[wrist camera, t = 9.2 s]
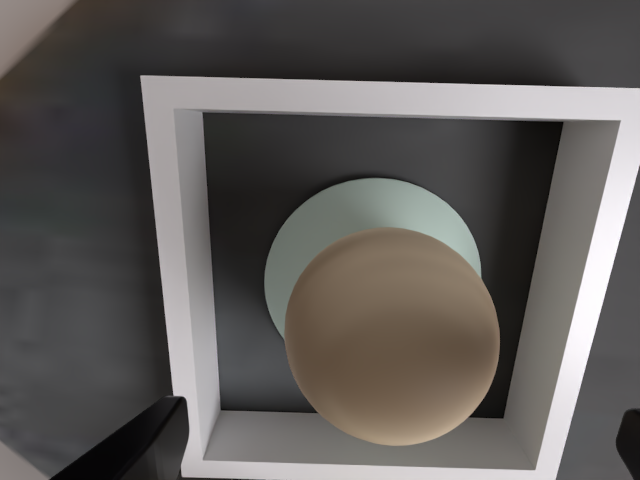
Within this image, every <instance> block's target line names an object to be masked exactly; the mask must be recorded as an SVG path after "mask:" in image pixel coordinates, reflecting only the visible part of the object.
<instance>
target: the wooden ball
mask: <svg viewBox="0 0 640 480" xmlns="http://www.w3.org/2000/svg"><path fill="white" fill-rule="evenodd" d="M284 337H285V348H286V353H287V357H288V362H289V366H290V368H291V371H292V373H293V376H294V378H295V380H296V382H297V384H298V386H299V388H300V390H301V392H302V393H303V395H304V396H305V397H306V399H307V400H308V401H309V403H310V404H311V405H312V406H313V408H314V409H315V410H316V411H317V412H318V413H319V414H320V415H321V416H322V417H323V418H325V419H326V420H327V421H329V422H330V423H331V424H333V425H334V426H335V427H337V428H338V429H340V430H342V431H343V432H345V433H347V434H349V435H351V436H353V437H356V438H358V439H361V440H365V441H368V442H371V443H375V444H381V445H390V446H404V445H412V444H418V443H422V442H426V441H429V440H432V439H435V438H438V437H440V436H442V435H444V434H446V433H448V432H449V431H451V430H453V429H454V428H456V427H457V426H458V425H460V424H461V423H462V422H464V421H465V420H466V419H467V418H468V417H469V416H470V415H471V414H472V413H473V411H474V410H475V409H476V408H477V407H478V405H479V404H480V403H481V401H482V400H483V399H484V397H485V395H486V393H487V392H488V390H489V388H490V385H491V383H492V380H493V378H494V375H495V372H496V368H497V364H498V359H499V350H500V330H499V325H498V320H497V315H496V310H495V307H494V304H493V301H492V299H491V296H490V294H489V292H488V290H487V288H486V286H485V285H484V283H483V281H482V279H481V278H480V276H479V275H478V274H477V273H476V271H475V270H474V269H473V267H472V266H471V265H470V264H469V263H468V262H467V261H466V260H465V259H464V258H463V257H462V256H461V255H460V254H459V253H457V252H456V251H455V250H453V249H452V248H450V247H449V246H448V245H446V244H445V243H443V242H441V241H439V240H437V239H435V238H434V237H431V236H429V235H426V234H423V233H421V232H417V231H413V230H408V229H404V228H394V227H380V228H372V229H366V230H361V231H358V232H355V233H351V234H349V235H347V236H345V237H342V238H340V239H338V240H337V241H335V242H333V243H332V244H330V245H328V246H327V247H326V248H325V249H323V250H322V251H321V252H319V253H318V254H317V255H316V256H315V257H314V258H313V260H312V261H311V262H310V263H309V264H308V265H307V267H306V268H305V269H304V271H303V272H302V273H301V275H300V276H299V278H298V280H297V282H296V284H295V286H294V288H293V291H292V293H291V296H290V299H289V302H288V306H287V310H286V315H285V329H284Z"/></svg>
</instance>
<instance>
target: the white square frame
mask: <svg viewBox="0 0 640 480" xmlns="http://www.w3.org/2000/svg"><path fill="white" fill-rule="evenodd" d="M140 78H141V87H142V97H143V107H144V116H145V126H146V135H147V145H148V155H149V164H150V174H151V184H152V193H153V203H154V212H155V222H156V232H157V241H158V251H159V261H160V270H161V280H162V289H163V299H164V309H165V318H166V328H167V338H168V347H169V357H170V366H171V376H172V386H173V395H174V396H183V397H185V398H186V401H187V407H188V418H189V439H188V443H187V446H186V450H185V453H184V457H183V460H182V463H181V472H182V477H197V478H230V479H264V480H555V479H556V476H557V472H558V468H559V464H560V461H561V457H562V453H563V449H564V446H565V442H566V438H567V434H568V431H569V427H570V423H571V419H572V416H573V412H574V408H575V404H576V401H577V397H578V393H579V389H580V386H581V382H582V378H583V374H584V371H585V367H586V363H587V359H588V356H589V352H590V348H591V344H592V341H593V337H594V333H595V329H596V326H597V322H598V318H599V314H600V311H601V307H602V303H603V299H604V296H605V292H606V288H607V284H608V281H609V277H610V273H611V270H612V266H613V262H614V258H615V255H616V251H617V247H618V243H619V240H620V236H621V232H622V228H623V225H624V221H625V217H626V213H627V210H628V206H629V202H630V198H631V195H632V191H633V187H634V183H635V180H636V176H637V172H638V168H639V165H640V88H602V87H564V86H526V85H488V84H450V83H412V82H374V81H336V80H297V79H259V78H221V77H183V76H145V75H140ZM202 112H213V113H251V114H288V115H326V116H364V117H401V118H439V119H477V120H514V121H552V122H564V123H563V128H562V133H561V138H560V143H559V148H558V153H557V158H556V163H555V168H554V172H553V177H552V182H551V187H550V192H549V197H548V202H547V207H546V212H545V217H544V222H543V227H542V232H541V236H540V241H539V246H538V251H537V256H536V261H535V266H534V271H533V276H532V281H531V286H530V291H529V296H528V300H527V305H526V310H525V315H524V320H523V325H522V330H521V335H520V340H519V345H518V350H517V355H516V360H515V364H514V369H513V374H512V379H511V384H510V389H509V394H508V399H507V404H506V409H505V414H504V419H499V418H467V419H466V420H465V421H464V422H462V423H461V424H460V425H458V426H457V427H456V428H454V429H453V430H451V431H449V432H448V433H446V434H444V435H442V436H440V437H438V438H435V439H432V440H429V441H426V442H422V443H418V444H412V445H404V446H390V445H381V444H375V443H371V442H368V441H365V440H361V439H358V438H356V437H353V436H351V435H349V434H347V433H345V432H343V431H342V430H340V429H338V428H337V427H335V426H334V425H333V424H331V423H330V422H329V421H327V420H326V419H325V418H323V417H322V416H321V415H320V414H319V413H293V412H259V411H225V410H221V407H220V390H219V374H218V358H217V341H216V325H215V309H214V293H213V276H212V260H211V244H210V227H209V211H208V195H207V179H206V162H205V146H204V130H203V113H202ZM380 227H394V228H404V229H408V230H413V231H417V232H421V233H423V234H426V235H429V236H431V237H434V238H435V239H437V240H439V241H441V242H443V243H445V244H446V245H448V246H449V247H450V248H452V249H453V250H455V251H456V252H457V253H459V254H460V255H461V256H462V257H463V258H464V259H465V260H466V261H467V262H468V263H469V264H470V265H471V266H472V267H473V269H474V270H475V271H476V273H477V274H478V275H479V276H480V278H481V263H480V258H479V253H478V249H477V247H476V244H475V241H474V238H473V236H472V234H471V233H470V231H469V229H468V227H467V225H466V224H465V223H464V221H463V220H462V219H461V217H460V216H459V215H458V214H457V213H456V212H455V211H454V210H453V209H452V208H451V207H450V206H449V205H448V204H447V203H446V202H444V201H443V200H442V199H440V198H439V197H438V196H436V195H435V194H433V193H431V192H429V191H427V190H425V189H424V188H422V187H419V186H416V185H414V184H411V183H409V182H405V181H400V180H396V179H389V178H361V179H356V180H350V181H346V182H343V183H339V184H336V185H333V186H331V187H329V188H327V189H325V190H322V191H320V192H319V193H317V194H316V195H314V196H312V197H311V198H309V199H308V200H307V201H305V202H304V203H303V204H302V205H300V206H299V207H298V208H297V209H296V210H295V211H294V212H293V213H292V214H291V215H290V217H289V218H288V219H287V220H286V221H285V223H284V224H283V226H282V227H281V229H280V230H279V232H278V234H277V236H276V238H275V240H274V242H273V244H272V246H271V249H270V252H269V255H268V258H267V263H266V268H265V279H264V287H265V297H266V302H267V306H268V310H269V313H270V315H271V318H272V320H273V322H274V324H275V326H276V328H277V330H278V331H279V333H280V334H281V336H282V337H283V338H284V340H285V337H284V329H285V315H286V310H287V306H288V302H289V299H290V296H291V293H292V291H293V288H294V286H295V284H296V282H297V280H298V278H299V276H300V275H301V273H302V272H303V271H304V269H305V268H306V267H307V265H308V264H309V263H310V262H311V261H312V260H313V258H314V257H315V256H316V255H317V254H318V253H319V252H321V251H322V250H323V249H325V248H326V247H327V246H328V245H330V244H332V243H333V242H335V241H337V240H338V239H340V238H342V237H345V236H347V235H349V234H351V233H355V232H358V231H361V230H366V229H372V228H380Z"/></svg>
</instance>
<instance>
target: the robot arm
mask: <svg viewBox="0 0 640 480" xmlns="http://www.w3.org/2000/svg"><path fill="white" fill-rule="evenodd" d="M188 439H189V418H188V407H187V401H186V398H185V397H183V396H165V397H163V398H161V399H160V400H158V401H157V402H156V403H154V404H153V405H151V406H150V407H149V408H147V409H146V410H145V411H143V412H142V413H140V414H139V415H138V416H136V417H135V418H133V419H132V420H131V421H129V422H128V423H127V424H125V425H124V426H122V427H121V428H120V429H118V430H117V431H116V432H114V433H113V434H111V435H110V436H109V437H107V438H106V439H104V440H103V441H102V442H100V443H99V444H98V445H96V446H95V447H93V448H92V449H91V450H89V451H88V452H86V453H85V454H84V455H82V456H81V457H80V458H78V459H77V460H75V461H74V462H73V463H71V464H70V465H69V466H67V467H66V468H64V469H63V470H62V471H60V472H59V473H57V474H56V475H55V476H53V477H52V478H51V479H49V480H177V477H178V474H179V470H180V467H181V463H182V460H183V457H184V453H185V450H186V446H187V443H188ZM616 448H617V451H618V453H619V455H620V457H621V459H622V460H623V462H624V464H625V465H626V467H627V469H628V470H629V472H630V474H631V476H632V477H633V479H634V480H640V409H636V408H631V409H628V410H627V411H626V412H625V413H624V415H623V418H622V421H621V425H620V428H619V431H618V434H617V437H616Z"/></svg>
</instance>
